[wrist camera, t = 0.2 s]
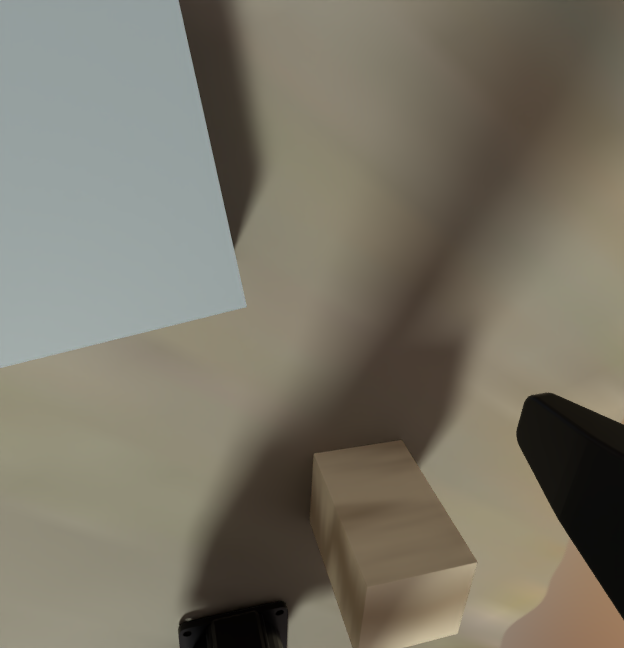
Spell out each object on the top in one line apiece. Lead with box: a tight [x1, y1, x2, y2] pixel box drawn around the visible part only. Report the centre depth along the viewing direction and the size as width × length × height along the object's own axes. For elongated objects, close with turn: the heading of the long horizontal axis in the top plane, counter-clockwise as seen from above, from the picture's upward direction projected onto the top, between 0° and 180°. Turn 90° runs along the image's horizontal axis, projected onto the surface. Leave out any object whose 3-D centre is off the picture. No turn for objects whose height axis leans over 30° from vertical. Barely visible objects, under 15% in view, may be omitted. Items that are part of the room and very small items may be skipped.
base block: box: [0, 0, 247, 368], centre depth 17 cm, size 11×11×4 cm
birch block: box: [310, 440, 478, 648], centre depth 27 cm, size 5×5×8 cm
